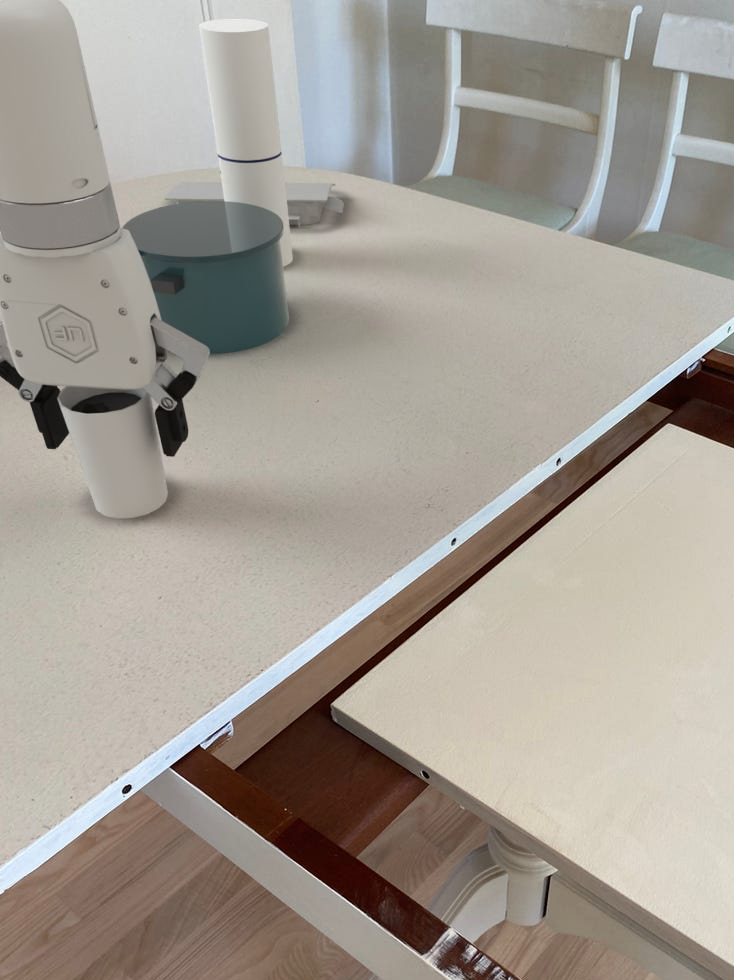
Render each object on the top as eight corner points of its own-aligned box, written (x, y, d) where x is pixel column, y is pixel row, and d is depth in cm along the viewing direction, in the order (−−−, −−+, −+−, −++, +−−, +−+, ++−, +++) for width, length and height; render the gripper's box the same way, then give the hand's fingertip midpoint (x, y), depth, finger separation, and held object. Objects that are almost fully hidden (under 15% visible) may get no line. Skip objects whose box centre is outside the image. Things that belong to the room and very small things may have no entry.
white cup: (134, 536, 76) (103, 423, 70) (72, 512, 79) (37, 400, 72) (191, 496, 81) (168, 386, 74) (131, 474, 83) (103, 365, 76)
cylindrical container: (250, 279, 115) (216, 34, 98) (224, 260, 119) (187, 22, 102) (303, 267, 118) (280, 27, 101) (276, 249, 122) (249, 16, 106)
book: (338, 235, 126) (335, 204, 124) (158, 234, 125) (152, 202, 123) (345, 196, 138) (343, 167, 135) (181, 195, 137) (175, 165, 134)
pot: (107, 354, 100) (81, 250, 93) (192, 286, 113) (175, 190, 106) (251, 376, 97) (235, 270, 90) (321, 303, 110) (312, 206, 103)
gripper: (-99, 228, 62) (-13, 462, 74) (167, 242, 61) (212, 476, 73) (-42, 191, 68) (30, 414, 79) (202, 203, 67) (239, 426, 78)
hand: (117, 443), depth 76 cm, fingers open, 8 cm apart
